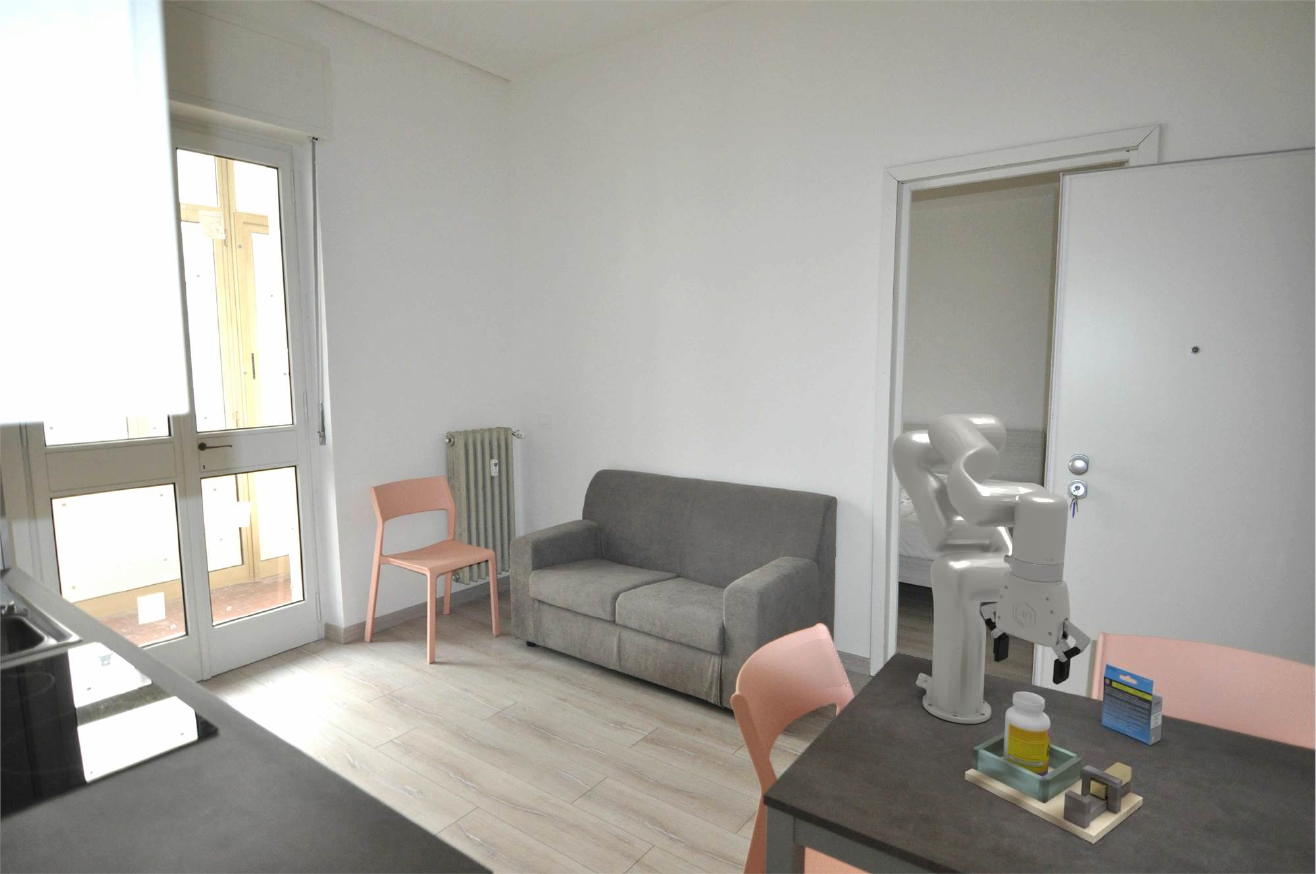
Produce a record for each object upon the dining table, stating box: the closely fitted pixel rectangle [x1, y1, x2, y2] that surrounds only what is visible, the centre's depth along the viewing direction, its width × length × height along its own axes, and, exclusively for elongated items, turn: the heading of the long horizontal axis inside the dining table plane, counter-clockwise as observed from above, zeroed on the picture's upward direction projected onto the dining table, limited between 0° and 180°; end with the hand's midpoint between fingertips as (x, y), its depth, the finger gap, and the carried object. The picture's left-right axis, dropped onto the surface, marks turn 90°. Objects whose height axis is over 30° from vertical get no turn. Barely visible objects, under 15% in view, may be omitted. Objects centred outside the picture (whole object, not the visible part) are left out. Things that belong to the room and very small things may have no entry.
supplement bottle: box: [1003, 690, 1051, 777], centre depth 119 cm, size 7×7×13 cm
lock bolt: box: [1090, 761, 1132, 799], centre depth 113 cm, size 2×9×2 cm, turn 125°
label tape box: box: [1101, 662, 1163, 746], centre depth 134 cm, size 9×4×12 cm, turn 28°
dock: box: [964, 730, 1144, 845], centre depth 116 cm, size 20×16×6 cm
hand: (1029, 670), depth 119 cm, fingers open, 9 cm apart
